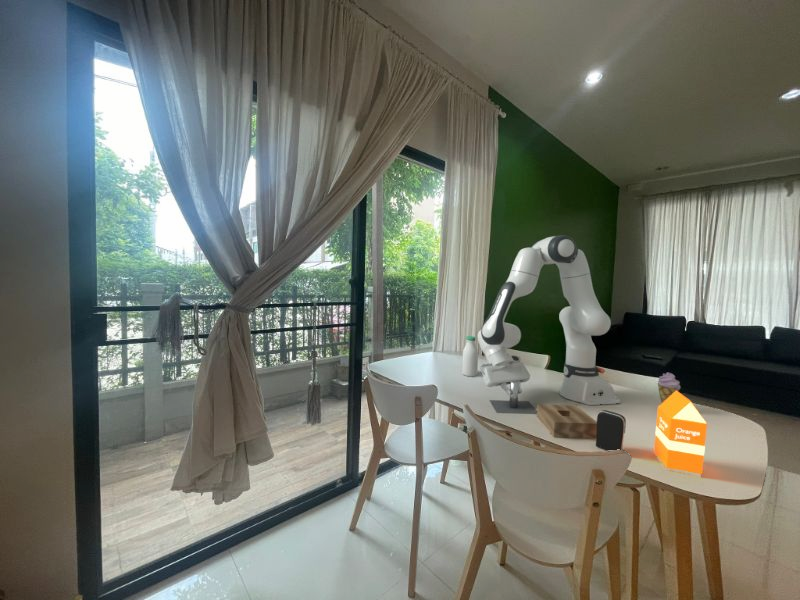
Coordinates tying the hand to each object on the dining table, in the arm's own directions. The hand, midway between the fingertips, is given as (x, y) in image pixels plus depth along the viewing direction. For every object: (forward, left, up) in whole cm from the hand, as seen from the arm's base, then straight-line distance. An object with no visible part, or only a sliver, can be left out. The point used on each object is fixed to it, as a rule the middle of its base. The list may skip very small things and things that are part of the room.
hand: (515, 393), depth 123 cm
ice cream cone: (-60, -3, -6) cm, 60 cm away
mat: (0, -1, -6) cm, 6 cm away
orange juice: (-34, +34, -6) cm, 49 cm away
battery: (-20, +27, -6) cm, 34 cm away
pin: (0, -1, -5) cm, 5 cm away
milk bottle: (+10, -41, -6) cm, 42 cm away
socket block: (-13, +14, -6) cm, 20 cm away
